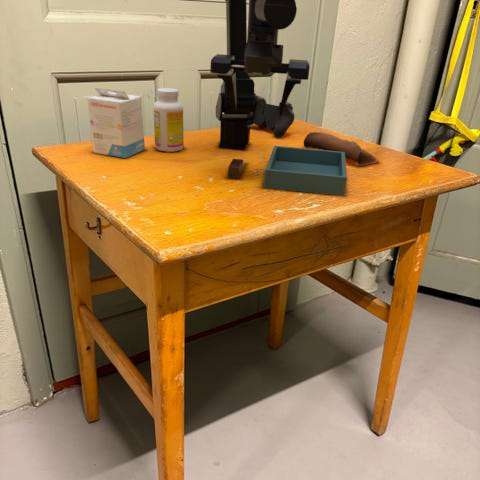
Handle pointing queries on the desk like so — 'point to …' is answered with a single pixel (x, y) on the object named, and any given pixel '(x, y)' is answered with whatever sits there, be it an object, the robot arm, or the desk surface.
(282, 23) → the robot arm
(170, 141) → the supplement bottle
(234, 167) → the brown and grey bar
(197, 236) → the desk surface
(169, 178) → the desk surface
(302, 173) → the cutlery tray
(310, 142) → the sunglasses case
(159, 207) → the desk surface
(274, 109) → the game controller
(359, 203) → the desk surface
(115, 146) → the ink box
